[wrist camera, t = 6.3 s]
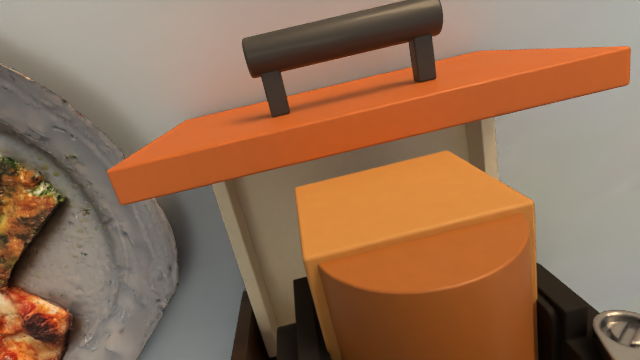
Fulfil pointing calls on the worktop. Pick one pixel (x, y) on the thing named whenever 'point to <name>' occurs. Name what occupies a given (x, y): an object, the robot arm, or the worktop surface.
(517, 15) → the worktop surface
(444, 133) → the drawer
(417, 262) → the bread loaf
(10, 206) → the food plate
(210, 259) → the worktop surface
